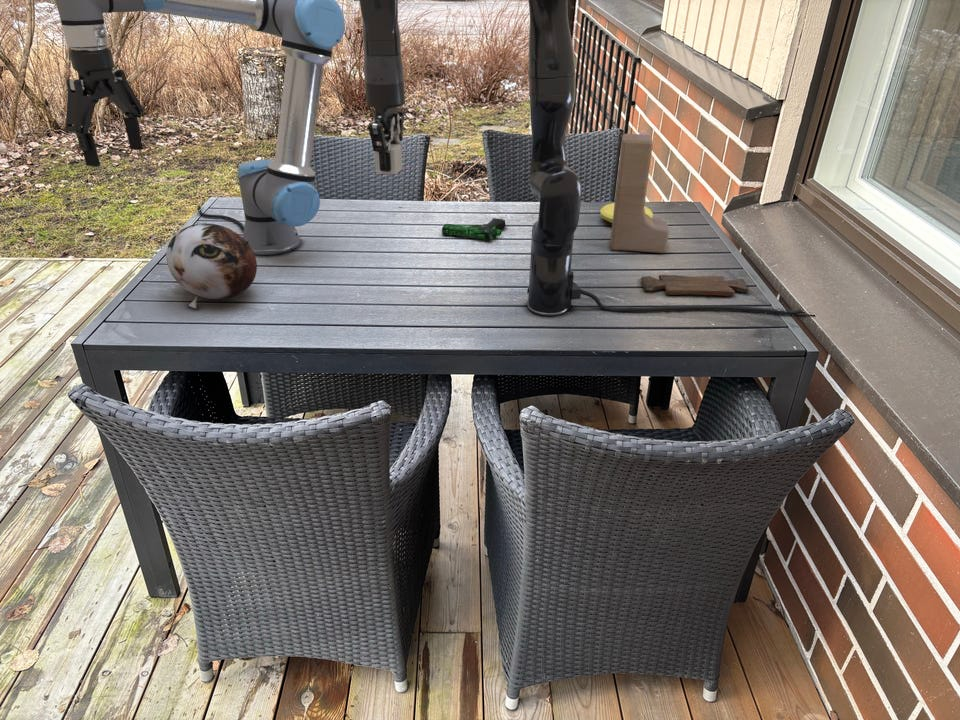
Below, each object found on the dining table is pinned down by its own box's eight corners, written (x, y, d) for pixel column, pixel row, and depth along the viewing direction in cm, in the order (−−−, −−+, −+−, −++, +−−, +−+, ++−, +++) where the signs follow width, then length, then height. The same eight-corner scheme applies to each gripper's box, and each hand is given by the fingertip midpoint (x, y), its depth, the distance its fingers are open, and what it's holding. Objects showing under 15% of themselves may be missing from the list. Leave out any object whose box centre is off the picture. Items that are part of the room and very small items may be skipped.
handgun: (511, 219, 210) (493, 234, 198) (511, 228, 211) (492, 244, 199) (461, 212, 215) (440, 226, 203) (461, 221, 217) (440, 236, 204)
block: (375, 172, 145) (373, 148, 143) (383, 167, 149) (381, 143, 146) (395, 174, 144) (394, 149, 142) (402, 168, 148) (401, 144, 145)
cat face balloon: (130, 285, 161) (164, 203, 163) (192, 308, 177) (221, 233, 178) (195, 307, 151) (229, 220, 152) (254, 330, 166) (285, 250, 168)
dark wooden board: (752, 298, 172) (740, 281, 181) (754, 292, 171) (742, 275, 180) (645, 295, 172) (638, 278, 181) (646, 288, 172) (639, 271, 180)
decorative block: (666, 254, 195) (683, 142, 180) (610, 250, 197) (623, 139, 181) (663, 244, 201) (680, 135, 186) (610, 240, 203) (622, 132, 188)
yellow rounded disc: (613, 210, 226) (616, 188, 222) (660, 220, 218) (663, 198, 214) (589, 223, 215) (592, 200, 211) (638, 235, 207) (641, 211, 203)
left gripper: (58, 57, 128) (89, 174, 139) (146, 41, 149) (167, 144, 160) (23, 55, 130) (57, 171, 141) (115, 39, 151) (138, 141, 162)
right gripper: (389, 86, 131) (395, 179, 139) (414, 73, 142) (418, 160, 151) (351, 84, 132) (359, 176, 141) (379, 72, 144) (384, 157, 153)
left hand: (116, 157), depth 150 cm, fingers open, 13 cm apart
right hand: (389, 167), depth 146 cm, fingers closed on block, 4 cm apart
